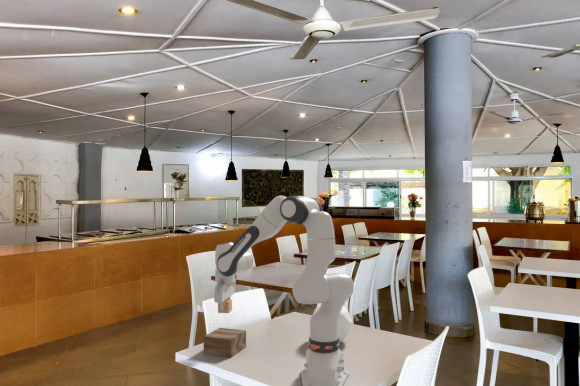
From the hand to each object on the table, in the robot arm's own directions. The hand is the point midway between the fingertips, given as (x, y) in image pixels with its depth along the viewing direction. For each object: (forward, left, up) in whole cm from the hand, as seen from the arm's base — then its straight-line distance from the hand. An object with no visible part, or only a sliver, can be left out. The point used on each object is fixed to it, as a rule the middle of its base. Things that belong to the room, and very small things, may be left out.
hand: (225, 308), depth 196 cm
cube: (0, 0, -2) cm, 2 cm away
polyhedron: (+19, -47, -20) cm, 54 cm away
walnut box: (0, 0, -20) cm, 20 cm away
